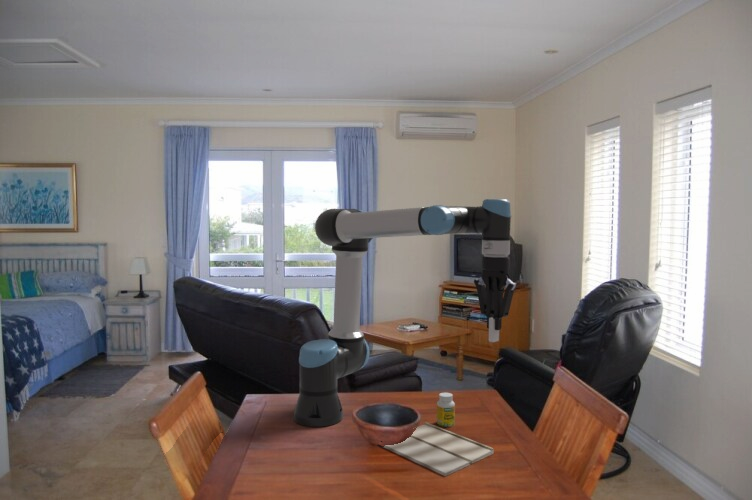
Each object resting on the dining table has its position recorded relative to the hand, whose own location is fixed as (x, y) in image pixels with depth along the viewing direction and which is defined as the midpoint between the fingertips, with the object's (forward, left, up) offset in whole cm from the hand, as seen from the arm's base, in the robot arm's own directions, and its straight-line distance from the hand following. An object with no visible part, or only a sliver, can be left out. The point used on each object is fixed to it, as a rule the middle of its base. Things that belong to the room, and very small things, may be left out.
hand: (493, 341), depth 152 cm
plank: (-6, -12, -28) cm, 31 cm away
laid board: (-6, -22, -28) cm, 36 cm away
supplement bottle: (-16, -1, -29) cm, 33 cm away
